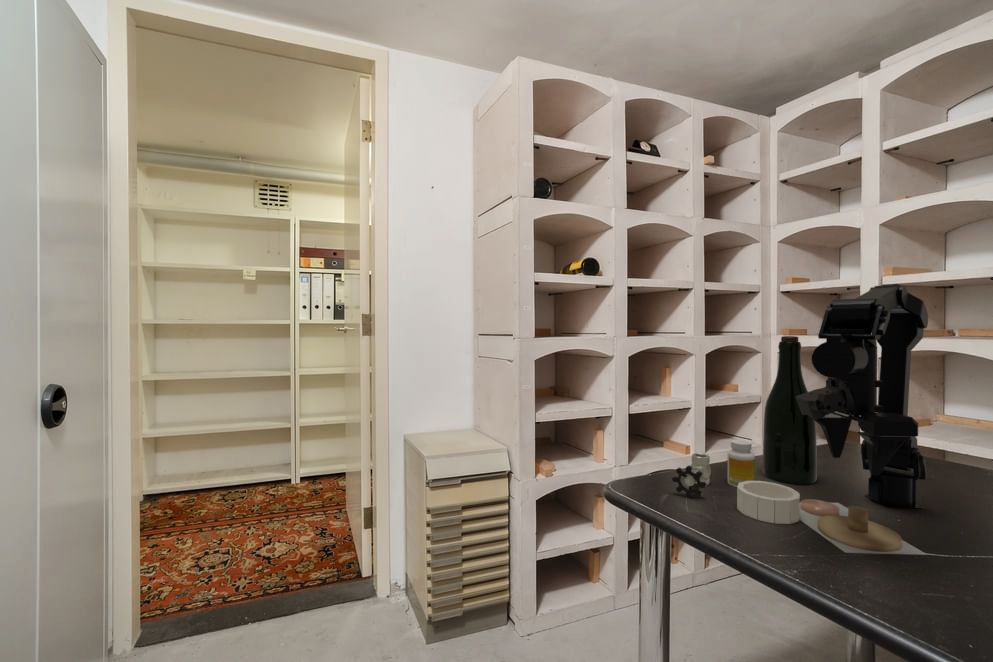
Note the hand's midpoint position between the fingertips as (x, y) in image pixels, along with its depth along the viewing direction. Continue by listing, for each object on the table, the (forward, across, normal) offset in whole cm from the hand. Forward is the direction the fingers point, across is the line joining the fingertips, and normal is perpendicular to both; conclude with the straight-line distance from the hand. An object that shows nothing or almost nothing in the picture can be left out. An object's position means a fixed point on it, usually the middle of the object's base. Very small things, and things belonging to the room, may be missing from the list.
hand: (854, 465), depth 76 cm
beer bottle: (+12, -29, +5) cm, 32 cm away
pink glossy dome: (+12, -10, 0) cm, 15 cm away
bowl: (+12, -8, -10) cm, 18 cm away
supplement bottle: (+12, -23, -8) cm, 28 cm away
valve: (+12, -20, -19) cm, 30 cm away
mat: (+12, -4, 0) cm, 13 cm away
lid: (+12, 0, 0) cm, 12 cm away
